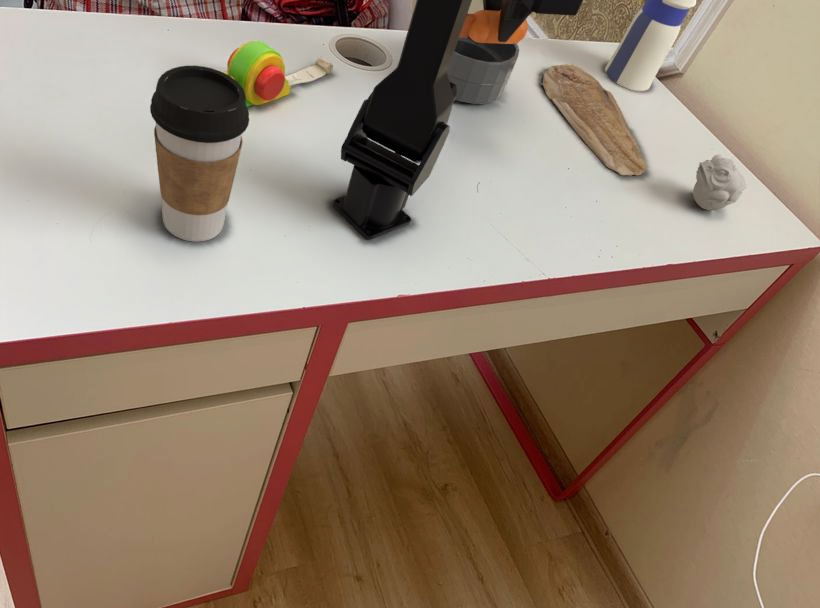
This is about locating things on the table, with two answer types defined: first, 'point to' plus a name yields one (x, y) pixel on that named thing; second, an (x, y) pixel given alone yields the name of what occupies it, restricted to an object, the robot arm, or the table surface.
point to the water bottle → (647, 43)
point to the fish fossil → (594, 117)
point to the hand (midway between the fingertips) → (495, 32)
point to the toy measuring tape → (268, 72)
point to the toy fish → (489, 28)
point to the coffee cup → (197, 147)
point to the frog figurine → (717, 183)
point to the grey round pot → (481, 69)
